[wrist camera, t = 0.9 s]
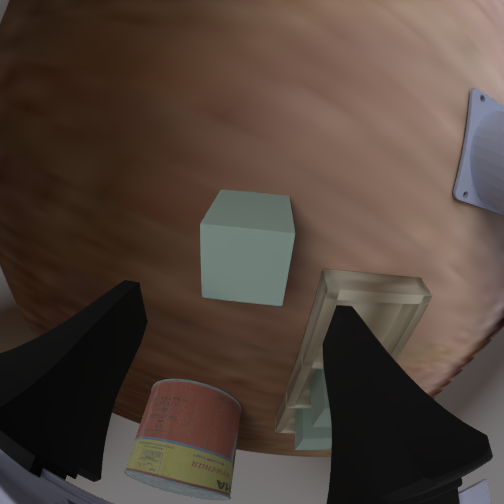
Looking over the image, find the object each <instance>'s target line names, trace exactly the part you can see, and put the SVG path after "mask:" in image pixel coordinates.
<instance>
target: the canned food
mask: <svg viewBox="0 0 504 504" xmlns="http://www.w3.org/2000/svg"><path fill="white" fill-rule="evenodd" d="M241 412H242V408H241V405H240V403H239V402H238V401H237V400H236V399H235V398H234V397H233V396H231V395H230V394H228V393H227V392H225V391H223V390H221V389H218V388H216V387H214V386H211V385H208V384H205V383H201V382H197V381H192V380H186V379H165V380H161V381H158V382H156V383H155V384H154V385H153V387H152V390H151V394H150V397H149V400H148V403H147V406H146V409H145V412H144V415H143V417H142V420H141V423H140V426H139V429H138V432H137V435H136V439H135V442H134V445H133V448H132V451H131V454H130V458H129V461H128V464H127V467H126V470H125V471H124V473H125V474H126V475H128V476H130V477H131V478H133V479H136V480H138V481H140V482H142V483H145V484H147V485H150V486H153V487H156V488H159V489H162V490H165V491H169V492H173V493H177V494H181V495H185V496H190V497H196V498H202V499H210V500H230V499H231V497H230V493H231V485H232V477H233V469H234V461H235V454H236V446H237V438H238V429H239V421H240V415H241Z"/></svg>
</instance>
